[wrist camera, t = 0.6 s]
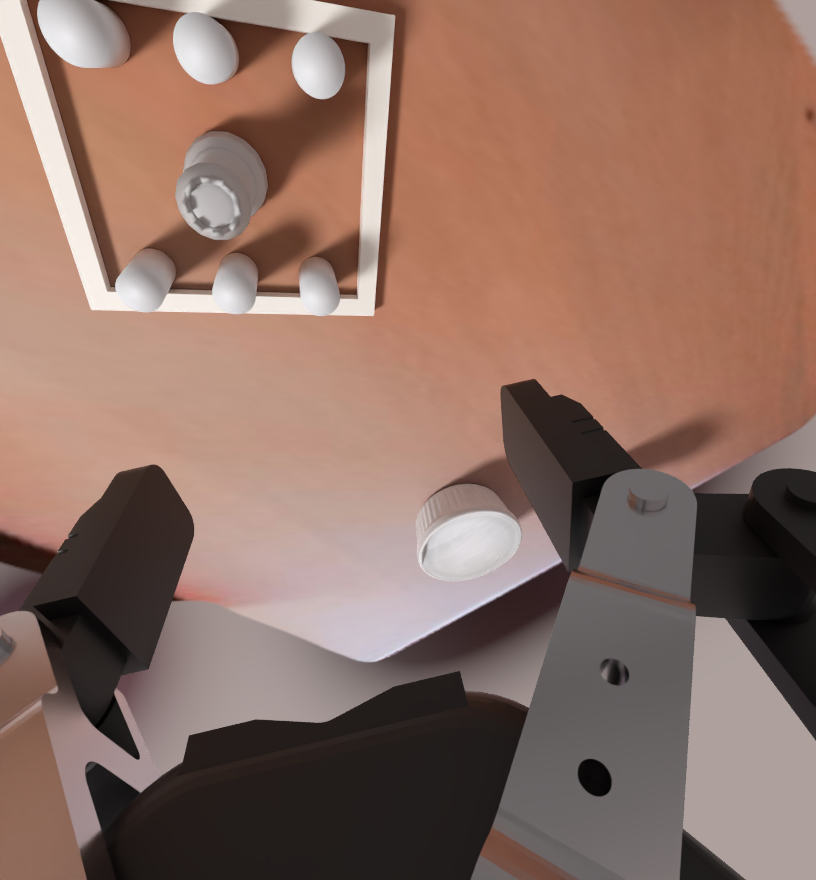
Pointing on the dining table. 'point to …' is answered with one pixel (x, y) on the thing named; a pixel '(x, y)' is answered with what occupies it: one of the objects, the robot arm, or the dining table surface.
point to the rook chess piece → (221, 185)
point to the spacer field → (208, 61)
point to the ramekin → (465, 533)
